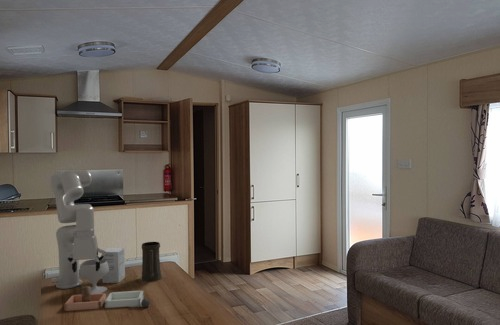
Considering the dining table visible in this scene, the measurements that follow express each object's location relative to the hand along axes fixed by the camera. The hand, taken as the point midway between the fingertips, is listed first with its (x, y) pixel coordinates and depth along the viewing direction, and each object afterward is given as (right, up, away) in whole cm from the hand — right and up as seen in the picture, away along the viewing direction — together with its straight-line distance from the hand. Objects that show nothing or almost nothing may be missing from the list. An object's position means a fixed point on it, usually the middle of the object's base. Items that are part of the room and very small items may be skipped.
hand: (86, 270), depth 176 cm
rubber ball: (+27, -14, -2) cm, 31 cm away
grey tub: (+17, -16, +3) cm, 23 cm away
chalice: (-4, -16, +19) cm, 25 cm away
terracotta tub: (0, -16, 0) cm, 16 cm away
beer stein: (+21, -15, +36) cm, 44 cm away
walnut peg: (0, -15, 0) cm, 15 cm away
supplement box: (0, -16, +36) cm, 40 cm away
